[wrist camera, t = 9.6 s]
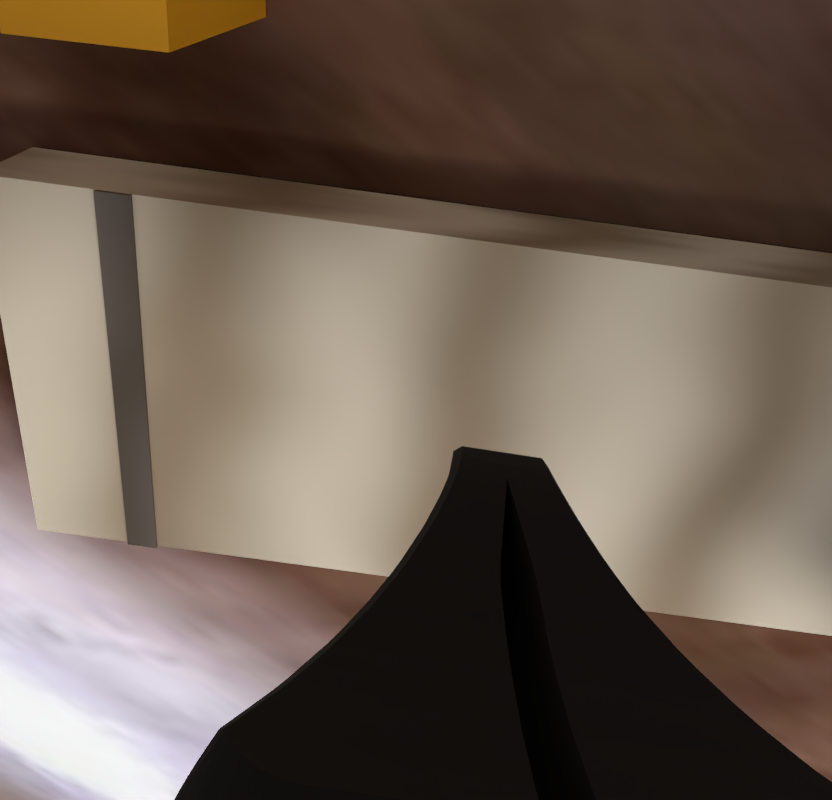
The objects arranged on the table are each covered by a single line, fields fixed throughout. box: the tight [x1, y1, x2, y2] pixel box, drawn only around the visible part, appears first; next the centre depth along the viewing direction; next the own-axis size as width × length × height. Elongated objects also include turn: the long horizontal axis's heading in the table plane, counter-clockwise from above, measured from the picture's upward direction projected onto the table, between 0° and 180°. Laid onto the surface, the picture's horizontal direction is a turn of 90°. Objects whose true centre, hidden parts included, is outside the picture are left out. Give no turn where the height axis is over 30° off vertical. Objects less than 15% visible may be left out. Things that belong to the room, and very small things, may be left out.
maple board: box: [0, 147, 832, 636], centre depth 21 cm, size 24×10×3 cm, turn 84°
